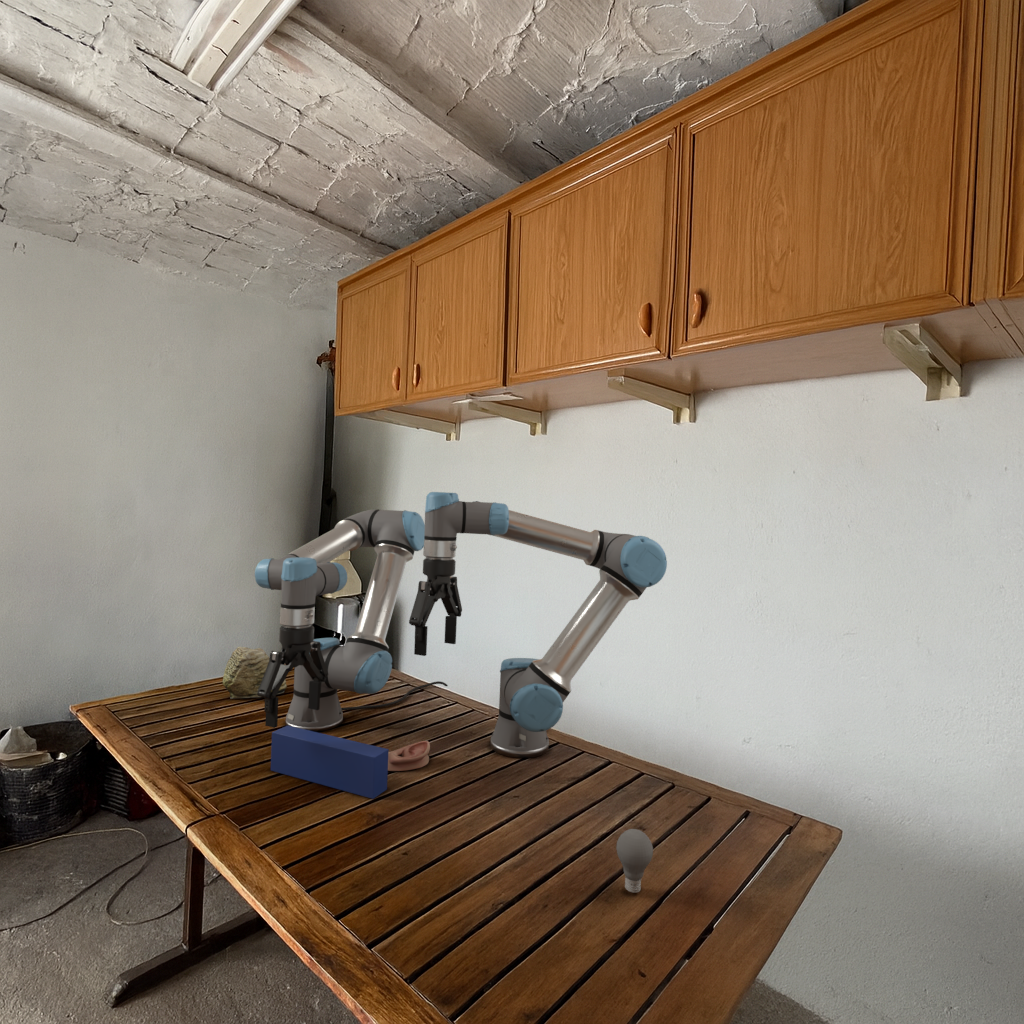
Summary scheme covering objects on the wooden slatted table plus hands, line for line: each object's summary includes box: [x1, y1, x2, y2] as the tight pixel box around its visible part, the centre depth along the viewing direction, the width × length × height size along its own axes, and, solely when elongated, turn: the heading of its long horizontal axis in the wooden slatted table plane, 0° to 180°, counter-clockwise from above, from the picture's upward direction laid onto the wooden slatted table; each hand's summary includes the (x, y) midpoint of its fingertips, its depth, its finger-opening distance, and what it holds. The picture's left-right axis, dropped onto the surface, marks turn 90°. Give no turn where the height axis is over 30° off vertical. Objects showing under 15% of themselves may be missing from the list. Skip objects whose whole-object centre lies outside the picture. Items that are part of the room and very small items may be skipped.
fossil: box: [222, 646, 288, 699], centre depth 198 cm, size 9×18×15 cm, turn 132°
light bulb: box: [615, 828, 654, 894], centre depth 106 cm, size 6×6×10 cm
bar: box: [270, 725, 390, 800], centre depth 142 cm, size 28×5×9 cm, turn 66°
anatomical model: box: [388, 740, 431, 772], centre depth 153 cm, size 13×4×12 cm
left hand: (293, 717), depth 146 cm, fingers open, 13 cm apart
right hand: (435, 649), depth 148 cm, fingers open, 13 cm apart
